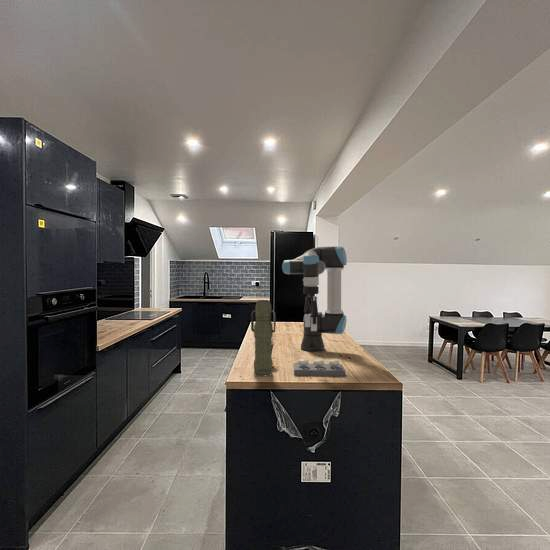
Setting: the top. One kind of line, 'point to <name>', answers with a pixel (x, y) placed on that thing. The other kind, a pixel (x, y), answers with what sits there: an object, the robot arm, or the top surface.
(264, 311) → the thermos
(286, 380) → the top surface
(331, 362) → the button one dot
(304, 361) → the button two dots
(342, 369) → the button panel
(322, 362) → the button three dots
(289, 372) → the top surface
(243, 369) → the top surface
